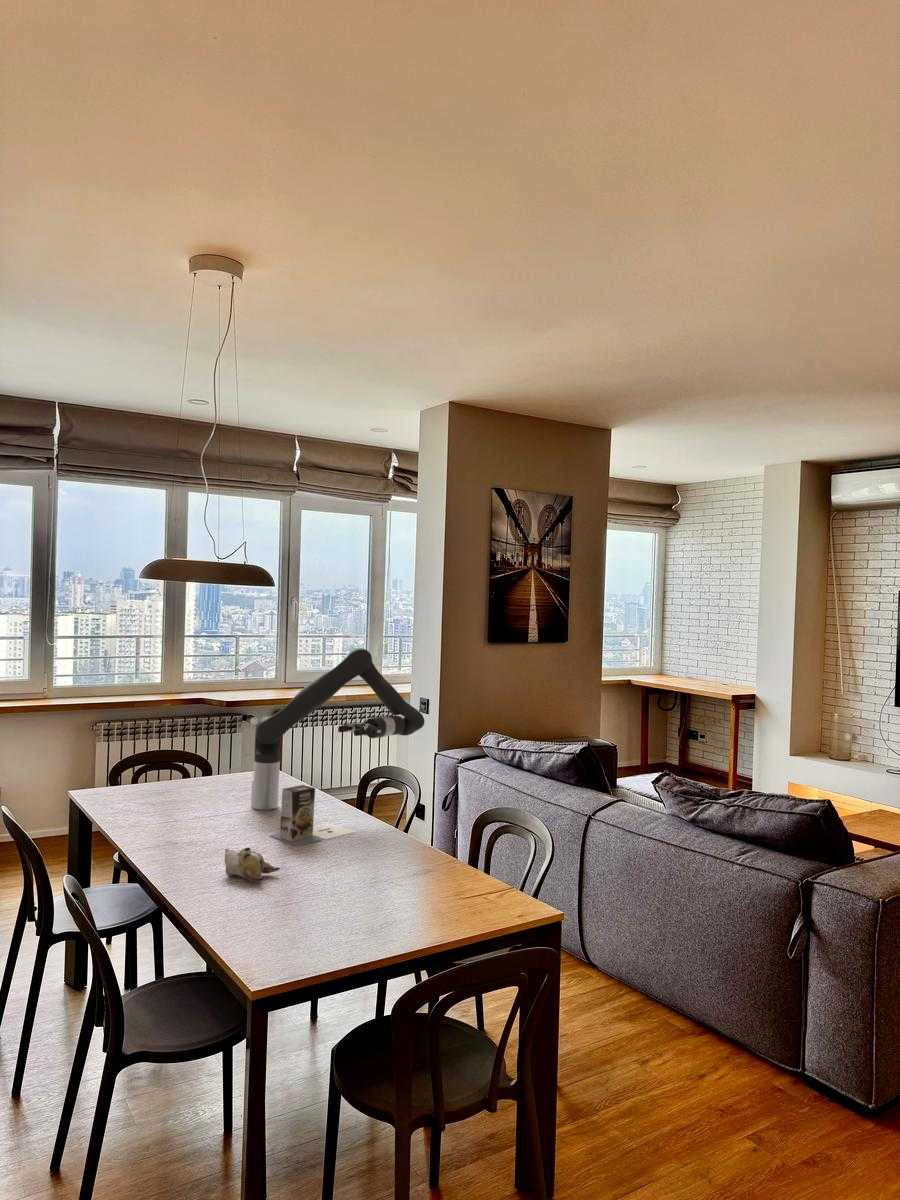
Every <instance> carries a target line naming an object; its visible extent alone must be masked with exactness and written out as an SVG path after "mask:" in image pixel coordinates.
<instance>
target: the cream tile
mask: <svg viewBox="0 0 900 1200" xmlns="http://www.w3.org/2000/svg"><path fill="white" fill-rule="evenodd" d="M354 833H356V831H355V830H351V829H348V828H345V827H342V826H339V825H336V824H333V823H330V822H326V823H322V824H318V825H313V837H316V838H319V839H322V840H325V841H326V840H330V839H334V838H338V837H343V836H347V835H351V834H354Z"/></svg>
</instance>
